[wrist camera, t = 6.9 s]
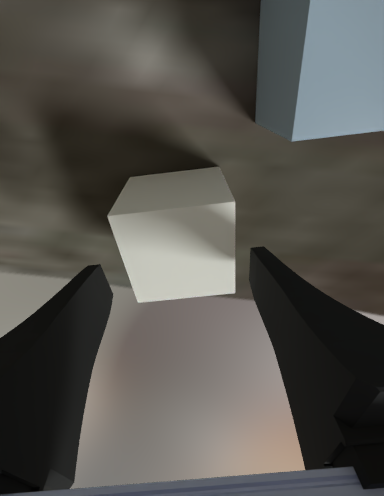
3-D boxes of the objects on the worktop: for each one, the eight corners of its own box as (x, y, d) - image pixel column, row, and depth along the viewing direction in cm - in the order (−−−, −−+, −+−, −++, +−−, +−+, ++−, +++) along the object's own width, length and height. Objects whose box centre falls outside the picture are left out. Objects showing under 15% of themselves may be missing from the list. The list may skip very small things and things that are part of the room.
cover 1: (219, 166, 15) (235, 201, 10) (222, 241, 18) (235, 293, 14) (129, 177, 15) (107, 216, 10) (149, 249, 18) (138, 302, 14)
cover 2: (397, -46, 10) (576, -155, 5) (356, 110, 13) (446, 122, 9) (261, -26, 10) (325, -116, 6) (255, 123, 13) (291, 141, 9)
